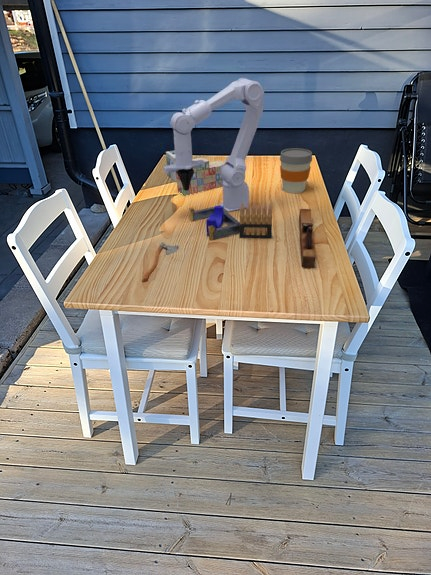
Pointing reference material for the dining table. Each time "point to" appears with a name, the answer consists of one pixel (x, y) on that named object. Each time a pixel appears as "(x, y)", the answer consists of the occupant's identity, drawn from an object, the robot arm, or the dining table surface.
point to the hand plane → (306, 239)
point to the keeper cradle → (213, 233)
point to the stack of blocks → (203, 178)
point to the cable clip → (216, 218)
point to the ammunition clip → (256, 222)
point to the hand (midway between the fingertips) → (186, 189)
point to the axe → (168, 251)
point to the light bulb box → (171, 160)
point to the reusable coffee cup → (295, 169)
